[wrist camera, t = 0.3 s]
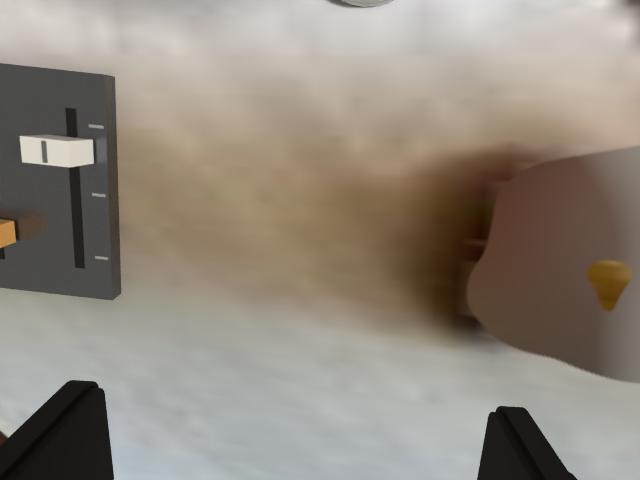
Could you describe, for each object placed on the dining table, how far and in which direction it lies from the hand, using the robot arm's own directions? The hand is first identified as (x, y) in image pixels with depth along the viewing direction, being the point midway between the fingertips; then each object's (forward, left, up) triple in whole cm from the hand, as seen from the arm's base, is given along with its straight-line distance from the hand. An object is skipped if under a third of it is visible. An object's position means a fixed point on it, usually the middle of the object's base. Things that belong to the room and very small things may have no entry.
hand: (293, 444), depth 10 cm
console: (+2, -31, -36) cm, 48 cm away
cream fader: (-2, -26, -34) cm, 43 cm away
